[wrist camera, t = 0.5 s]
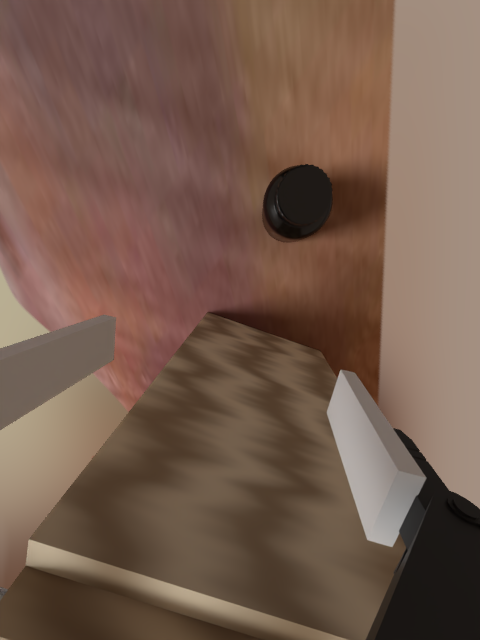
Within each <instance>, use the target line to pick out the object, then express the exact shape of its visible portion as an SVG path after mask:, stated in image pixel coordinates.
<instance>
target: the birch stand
mask: <svg viewBox="0 0 480 640" xmlns="http://www.w3.org/2000/svg"><path fill="white" fill-rule="evenodd" d="M336 382H337V377H336V376H335V374H334V372H333V371H332V369H331V367H330V366H329V364H328V363H327V361H326V359H325V358H324V356H323V354H322V353H321V351H318V350H316V349H313V348H310V347H307V346H304V345H301V344H298V343H295V342H292V341H289V340H287V339H284V338H281V337H278V336H275V335H272V334H269V333H266V332H263V331H261V330H258V329H255V328H252V327H249V326H246V325H243V324H240V323H237V322H235V321H232V320H229V319H226V318H223V317H220V316H217V315H214V314H211V313H208V312H207V314H206V315H205V316H204V317H203V319H202V320H201V321H200V323H199V324H198V325H197V326H196V328H195V329H194V330H193V331H192V333H191V334H190V335H189V337H188V338H187V339H186V340H185V342H184V343H183V344H182V345H181V347H180V348H179V349H178V350H177V352H176V353H175V354H174V356H173V357H172V358H171V359H170V361H169V362H168V363H167V364H166V366H165V367H164V368H163V370H162V371H161V372H160V373H159V375H158V376H157V377H156V378H155V380H154V381H153V382H152V384H151V385H150V386H149V387H148V389H147V390H146V391H145V392H144V394H143V395H142V396H141V397H140V399H139V400H138V401H137V403H136V404H135V405H134V406H133V408H132V409H131V410H130V411H129V413H128V414H127V415H126V417H125V418H124V419H123V420H122V422H121V423H120V424H119V426H118V427H117V428H116V429H115V431H114V432H113V433H112V434H111V436H110V437H109V438H108V439H107V441H106V442H105V443H104V444H103V446H102V447H101V448H100V450H99V451H98V453H96V455H95V456H94V457H93V458H92V460H91V461H90V462H89V464H88V465H87V466H86V467H85V469H84V470H83V471H82V472H81V474H80V475H79V476H78V478H77V479H76V480H75V481H74V483H73V484H72V485H71V486H70V488H69V489H68V490H67V491H66V493H65V494H64V495H63V497H62V498H61V499H60V500H59V502H58V503H57V504H56V505H55V507H54V508H53V509H52V511H51V512H50V513H49V514H48V516H47V517H46V518H45V520H44V521H43V522H42V523H41V524H40V526H39V527H38V528H37V530H36V531H35V532H34V534H33V535H32V536H31V537H30V539H29V543H28V552H27V560H26V566H25V568H24V569H23V570H22V572H21V573H20V574H19V576H18V577H17V578H16V580H15V581H14V583H13V584H12V585H11V587H10V588H9V589H8V591H7V592H6V593H5V595H4V596H3V598H2V599H1V600H0V640H366V638H367V636H368V633H369V631H370V629H371V626H372V624H373V622H374V619H375V617H376V615H377V613H378V610H379V608H380V606H381V603H382V601H383V599H384V596H385V594H386V592H387V590H388V587H389V585H390V583H391V580H392V578H393V576H394V571H395V569H396V567H397V565H398V563H399V561H400V559H401V557H402V555H403V553H404V551H405V549H406V546H405V544H404V542H403V539H402V537H401V535H400V533H399V535H398V537H397V539H396V541H395V543H394V545H393V547H390V546H386V545H383V544H379V543H376V542H372V541H369V540H367V538H366V535H365V532H364V528H363V525H362V522H361V519H360V516H359V513H358V510H357V507H356V503H355V500H354V497H353V494H352V491H351V488H350V485H349V481H348V478H347V475H346V472H345V469H344V466H343V463H342V460H341V456H340V453H339V450H338V447H337V444H336V441H335V438H334V434H333V431H332V428H331V425H330V422H329V419H328V416H327V410H328V406H329V403H330V400H331V397H332V394H333V391H334V388H335V385H336Z"/></svg>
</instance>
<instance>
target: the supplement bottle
mask: <svg viewBox="0 0 480 640" xmlns="http://www.w3.org/2000/svg"><path fill="white" fill-rule="evenodd" d="M331 186H332V184H331V182H330V178H328V177H327V174H326V173H324V172H323V170H322V169H319V168H318V167H315V166H314V165H308V164H306V165H297V166H292V167H289V168H286V169H284V170H283V171H281V172H280V173H278V174H277V175H276V176H275V177H274V178H273V179H272V181H271V182H270V184H269V185H268V187H267V190H266V192H265V196H264V200H263V211H262V219H263V224H264V227H265V229H266V231H267V232H268V234H269V235H270V236H271V237H273V238H274V239H276V240H278V241H281V242H295V241H298V240H301V239H304V238H307V237H309V236H311V235H313V234H314V233H316V232H317V231H318V230H320V229H321V228H322V226H323V225H324V224H325V222H326V221H327V219H328V217H329V215H330V212H331V209H332V201H333V198H332V188H331Z"/></svg>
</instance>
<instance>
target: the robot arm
mask: <svg viewBox="0 0 480 640" xmlns="http://www.w3.org/2000/svg"><path fill="white" fill-rule="evenodd" d="M115 326H116V317H111V316H107V315H102V316H99V317H96V318H93V319H90V320H86V321H83V322H80V323H77V324H74V325H71V326H68V327H65V328H62V329H59V330H56V331H53V332H50V333H47V334H44V335H40V336H37V337H34V338H31V339H28V340H25V341H22V342H19V343H16V344H13V345H10V346H7V347H4V348H0V430H1V429H3V428H4V427H6V426H8V425H9V424H11V423H13V422H14V421H16V420H17V419H19V418H20V417H22V416H24V415H25V414H27V413H29V412H30V411H32V410H33V409H35V408H37V407H38V406H40V405H42V404H43V403H45V402H46V401H48V400H49V399H51V398H53V397H54V396H56V395H58V394H59V393H61V392H62V391H64V390H66V389H67V388H69V387H70V386H72V385H74V384H75V383H77V382H79V381H80V380H82V379H83V378H85V377H87V376H88V375H90V374H91V373H93V372H95V371H96V370H98V369H100V368H101V367H103V366H104V365H106V364H108V363H109V362H111V361H113V360H114V345H115ZM327 416H328V419H329V422H330V425H331V428H332V431H333V434H334V438H335V441H336V444H337V447H338V450H339V453H340V456H341V460H342V463H343V466H344V469H345V472H346V475H347V478H348V481H349V485H350V488H351V491H352V494H353V497H354V500H355V503H356V507H357V510H358V513H359V516H360V519H361V522H362V525H363V528H364V532H365V535H366V538H367V540H369V541H372V542H376V543H379V544H383V545H386V546H390V547H393V545H394V543H395V541H396V539H397V537H398V535H399V533H400V535H401V537H402V539H403V542H404V544H405V546H406V549H405V551H404V553H403V555H402V557H401V559H400V561H399V563H398V565H397V567H396V569H395V571H394V576H393V578H392V580H391V583H390V585H389V587H388V590H387V592H386V594H385V596H384V599H383V601H382V603H381V606H380V608H379V610H378V613H377V615H376V617H375V619H374V622H373V624H372V626H371V629H370V631H369V633H368V636H367V638H366V640H480V509H479V508H478V507H477V506H475V505H474V504H473V503H471V502H470V501H468V500H467V499H465V498H464V497H462V496H460V495H458V494H456V493H454V492H451V491H449V490H448V488H447V487H446V486H445V484H444V483H443V482H442V480H441V479H440V478H439V476H438V475H437V474H436V472H435V471H434V469H433V468H432V467H431V465H430V464H429V463H428V462H427V461H426V459H425V457H424V456H423V455H422V453H420V452H419V449H418V448H417V447H416V445H415V444H414V442H413V441H412V440H411V439H410V438H409V437H408V436H406V435H405V434H404V433H403V432H402V431H401V430H398V429H394V428H392V427H391V425H390V423H389V422H388V421H387V419H386V418H385V416H384V415H383V413H382V412H381V410H380V409H379V407H378V406H377V404H376V403H375V401H374V400H373V398H372V397H371V396H370V394H369V393H368V391H367V390H366V388H365V387H364V385H363V384H362V382H361V381H360V379H359V378H358V376H357V375H356V373H354V372H350V371H346V370H340V373H339V376H338V379H337V382H336V385H335V388H334V391H333V394H332V397H331V400H330V403H329V406H328V410H327Z"/></svg>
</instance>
